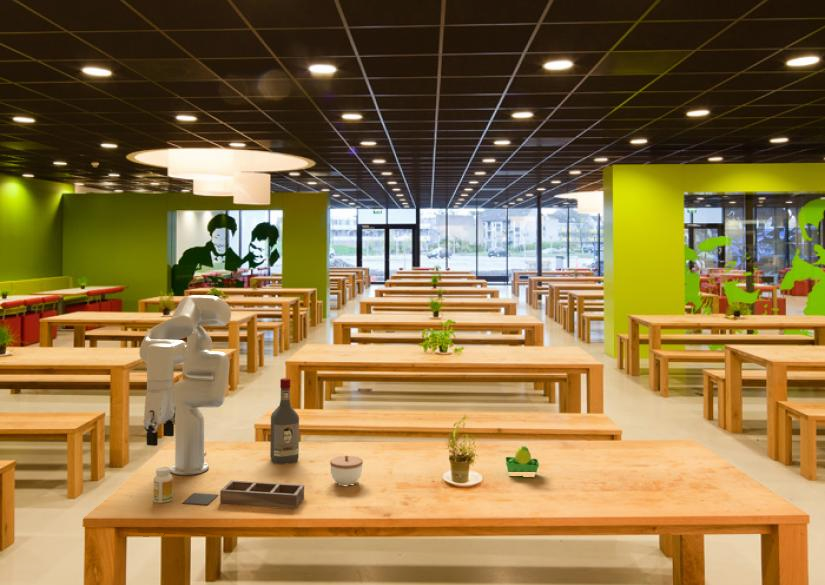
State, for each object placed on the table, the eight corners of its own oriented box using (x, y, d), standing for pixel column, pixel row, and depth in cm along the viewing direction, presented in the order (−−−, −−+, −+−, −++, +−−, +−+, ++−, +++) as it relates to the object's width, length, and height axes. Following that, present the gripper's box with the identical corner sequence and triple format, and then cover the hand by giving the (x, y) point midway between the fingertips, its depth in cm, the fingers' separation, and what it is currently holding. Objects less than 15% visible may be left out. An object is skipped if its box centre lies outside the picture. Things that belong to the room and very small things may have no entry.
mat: (193, 494, 212) (193, 493, 212) (218, 495, 211) (218, 494, 211) (182, 503, 204) (182, 502, 204) (207, 505, 203) (207, 504, 203)
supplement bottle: (174, 496, 209) (174, 466, 209) (169, 503, 204) (169, 471, 203) (157, 496, 209) (157, 465, 208) (151, 503, 204) (151, 471, 203)
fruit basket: (536, 472, 241) (538, 441, 240) (539, 480, 232) (540, 448, 232) (504, 470, 242) (505, 439, 242) (505, 478, 234) (506, 446, 233)
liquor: (269, 457, 250) (270, 377, 248) (293, 455, 254) (294, 376, 252) (274, 465, 242) (275, 382, 240) (299, 462, 246) (301, 380, 244)
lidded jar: (357, 490, 219) (357, 461, 218) (325, 487, 221) (326, 459, 220) (365, 479, 229) (366, 452, 229) (335, 476, 232) (336, 449, 231)
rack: (231, 493, 213) (231, 480, 213) (304, 498, 211) (304, 484, 211) (220, 504, 204) (220, 490, 204) (296, 509, 202) (296, 495, 202)
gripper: (163, 378, 212) (163, 432, 213) (133, 390, 195) (133, 448, 196) (185, 379, 211) (185, 433, 212) (157, 391, 194) (157, 450, 195)
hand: (160, 440), depth 204 cm, fingers open, 9 cm apart
